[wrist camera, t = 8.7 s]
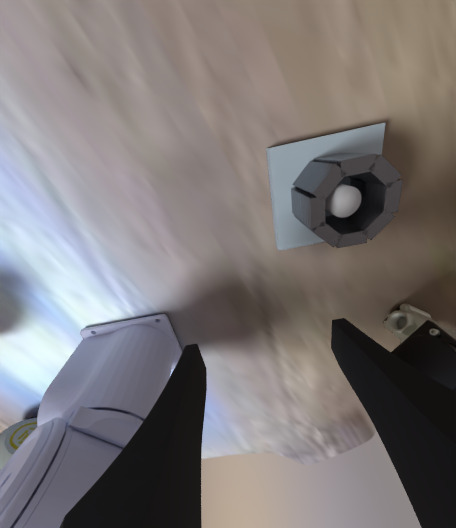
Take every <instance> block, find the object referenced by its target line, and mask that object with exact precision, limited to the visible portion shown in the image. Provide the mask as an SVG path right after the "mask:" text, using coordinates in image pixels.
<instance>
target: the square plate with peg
mask: <svg viewBox="0 0 456 528" xmlns="http://www.w3.org/2000/svg"><path fill="white" fill-rule="evenodd" d="M384 132H385V123H380V124H375V125H370V126H366V127H361V128H357V129H352V130H348V131H343V132H339V133H334V134H329V135H325V136H320V137H316V138H311V139H307V140H302V141H298V142H293V143H289V144H284V145H280V146H275V147H271V148H266V151H267V161H268V170H269V180H270V190H271V200H272V210H273V219H274V229H275V239H276V247H277V248H278V250H279V251H280V250H285V249H290V248H295V247H300V246H305V245H311V244H316V243H321V242H325V241H324V240H323V239H321V238H320V237H318V236H317V235H316V234H314V233H313V232H312V231H311V230H309V229H308V228H307V227H306V226H305V225H304V224H302V223H301V222H300V221H299V220H298V219H297V218H296V217H294V214H293V213H292V200H291V188H296V187H295V186H294V185H292V184H293V183H294V181H295V180H296V179H297V177H298V176H299V175H300V173H301V172H302V171H303V169H304V168H305V167H306V165H307V164H308V163H309V161H312V162H314V158H319V157H323V156H328V155H333V154H337V153H376V154H379V155H382V149H383V140H384ZM360 203H361V193H360V191H359V190H358V189H357V188H355V187H352V186H350V178H349V177H348V176H346V177H344V178H343V179H342V180H341V181H340V182H339V184H338V185H337V186H336V187H335V188H334V190H333V191H332V192H331V193H330V194H329V196H328V197H327V198H326V199H325V217H326V216H331V215H335V216H337V217H341V218H343V217H348V216H350V215H352V214H353V213H354V212H355V211H356V210H357V209H358V208H359V206H360Z"/></svg>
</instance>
